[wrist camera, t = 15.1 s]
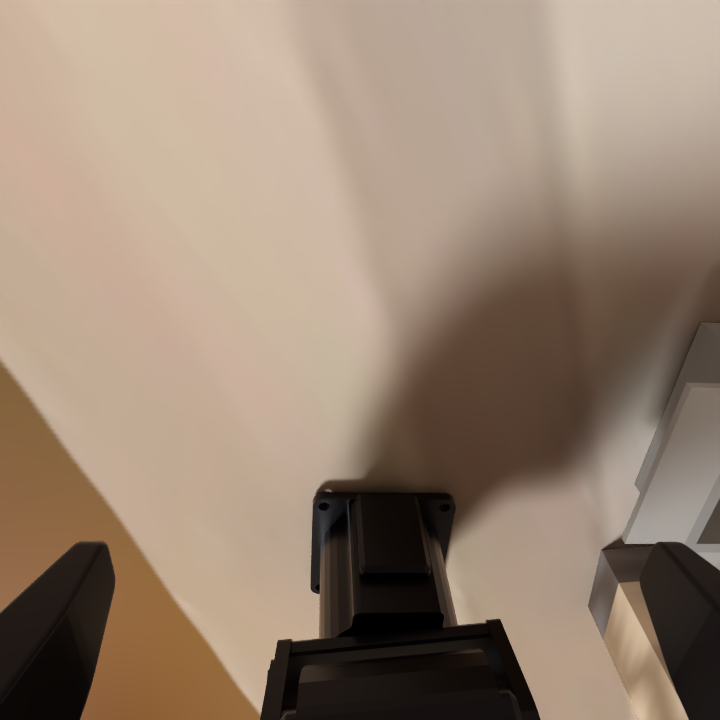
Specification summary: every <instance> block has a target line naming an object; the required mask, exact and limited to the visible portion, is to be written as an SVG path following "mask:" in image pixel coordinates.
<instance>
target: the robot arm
mask: <svg viewBox="0 0 720 720" xmlns="http://www.w3.org/2000/svg"><path fill="white" fill-rule="evenodd" d="M321 503H327V504H325V505H323V504H321ZM442 504H446V505H443V506H442ZM455 508H456V507H455V502H454V498H453V497H452V496H451V495H449V494H445V493H346V492H323V493H319V494H317V495H316V496H315V497H314V499H313V520H312V555H311V590H312V591H313V592H314V593H316V594H320V620H319V639H312V640H301V641H292V639H286V640H278V642H277V648H276V653H275V659H274V660H271V664H270V669H269V670H268V676H267V685H266V691H265V696H264V702H263V707H262V712H261V718H260V720H540V717H539V714H538V710H537V708H536V705H535V702H534V700H533V697H532V695H531V692H530V690H529V687H528V685H527V683H526V680H525V678H524V675H523V673H522V671H521V668H520V666H519V663H518V661H517V659H516V656H515V654H514V651H513V649H512V647H511V644H510V642H509V639H508V637H507V635H506V632H505V630H504V628H503V625H502V623H501V620H500V619H492V620H486V622H485V623H477V624H466V625H458V624H457V619H456V615H455V610H454V606H453V601H452V597H451V592H450V587H449V583H448V578H447V574H446V569H445V565H444V563H445V558H446V553H447V548H448V543H449V538H450V533H451V528H452V523H453V518H454V513H455ZM639 579H640V587H641V591H642V594H643V597H644V600H645V603H646V606H647V609H648V612H649V615H650V618H651V621H652V624H653V627H654V630H655V633H656V636H657V639H658V642H659V645H660V648H661V652H662V655H663V658H664V661H665V664H666V666H667V669H668V672H669V675H670V677H671V680H672V682H673V685H674V687H675V689H676V692H677V694H678V696H679V699H680V701H681V703H682V706H683V708H684V710H685V712H686V715H687V717H688V719H689V720H720V570H719V569H717V568H716V567H715V566H713V565H712V564H711V563H709V562H708V561H707V560H705V559H704V558H703V557H701V556H700V555H699V554H697V553H696V552H694V551H693V550H692V549H690V548H689V547H688V546H686V545H685V544H683V543H680V542H657V543H655V544H654V545H653V547H652V548H651V551H650V553H649V555H648V557H647V559H646V561H645V563H644V566H643V568H642V570H641V572H640V578H639ZM114 588H115V574H114V569H113V564H112V560H111V556H110V552H109V548H108V545H107V543H106V542H104V541H80V542H78V543H76V544H74V545H73V546H72V547H71V548H70V549H69V550H68V551H67V552H66V553H65V554H63V555H62V556H61V557H60V558H59V559H58V560H57V561H56V562H55V563H54V564H53V565H51V566H50V567H49V568H48V569H47V570H46V571H45V572H44V573H43V574H42V575H41V576H40V577H38V578H37V579H36V580H35V581H34V582H33V583H32V584H31V585H30V586H29V587H28V588H27V589H25V590H24V591H23V592H22V593H21V594H20V595H19V596H18V597H17V598H16V599H14V600H13V601H12V602H11V603H10V604H9V605H8V606H7V607H6V608H5V609H4V610H2V611H1V612H0V720H80V718H81V716H82V713H83V710H84V707H85V704H86V701H87V698H88V695H89V692H90V689H91V685H92V681H93V677H94V673H95V669H96V665H97V661H98V656H99V652H100V648H101V643H102V640H103V635H104V631H105V627H106V622H107V619H108V614H109V610H110V606H111V601H112V598H113V593H114Z"/></svg>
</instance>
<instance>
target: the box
mask: <svg viewBox="0 0 720 720" xmlns="http://www.w3.org/2000/svg"><path fill="white" fill-rule="evenodd" d="M652 547H653V546H642V547H630V548H618V549H605V550H601V553H600V558H599V562H598V566H597V570H596V575H595V579H594V583H593V587H592V592H591V596H590V600H589V604H588V607H589V609H590V612H591V614H592V616H593V618H594V620H595V623H596V625H597V627H598V629H599V632H600V634H601V636H602V638H603V640H604V643H605V645H606V647H607V649H608V652H609V654H610V656H611V658H612V660H613V663H614V665H615V667H616V669H617V672H618V674H619V676H620V678H621V680H622V683H623V685H624V687H625V689H626V692H627V694H628V696H629V698H630V701H631V703H632V705H633V707H634V709H635V712H636V714H637V716H638V718H639V720H689V719H688V717H687V715H686V712H685V710H684V708H683V706H682V703H681V701H680V699H679V696H678V694H677V692H676V689H675V687H674V685H673V682H672V680H671V677H670V675H669V672H668V669H667V666H666V664H665V661H664V658H663V655H662V652H661V648H660V645H659V642H658V639H657V636H656V633H655V630H654V627H653V624H652V621H651V618H650V615H649V612H648V609H647V606H646V603H645V600H644V597H643V594H642V591H641V587H640V579H639V578H640V572H641V570H642V568H643V566H644V563H645V561H646V559H647V557H648V555H649V553H650V551H651V548H652Z"/></svg>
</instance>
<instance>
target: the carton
mask: <svg viewBox="0 0 720 720" xmlns="http://www.w3.org/2000/svg"><path fill="white" fill-rule="evenodd" d="M635 486H636V487H637V489H638V490H639V492H640V495H639V498H638V500H637V502H636V505H635V507H634V509H633V512H632V514H631V517H630V519H629V521H628V524H627V526H626V529H625V531H624V533H623V536H622V540H623V541H624V543H625V544H655V543H657V542H680V543H683V544H685V545H686V546H688V547H689V548H690V549H692V550H693V551H694V552H696V553H697V554H699V555H700V556H701V557H703V558H704V559H705V560H707V561H708V562H709V563H711V564H712V565H713V566H715V567H716V568H717V569H719V570H720V323H707V322H701V323H700V325H699V328H698V330H697V333H696V335H695V338H694V340H693V342H692V345H691V347H690V350H689V352H688V355H687V357H686V360H685V362H684V365H683V367H682V369H681V372H680V374H679V377H678V379H677V382H676V384H675V387H674V389H673V392H672V394H671V396H670V399H669V401H668V404H667V406H666V409H665V411H664V414H663V416H662V418H661V421H660V423H659V426H658V428H657V431H656V433H655V436H654V438H653V441H652V443H651V445H650V448H649V450H648V453H647V455H646V458H645V460H644V463H643V465H642V467H641V470H640V472H639V475H638V477H637V480H636V482H635Z"/></svg>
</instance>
